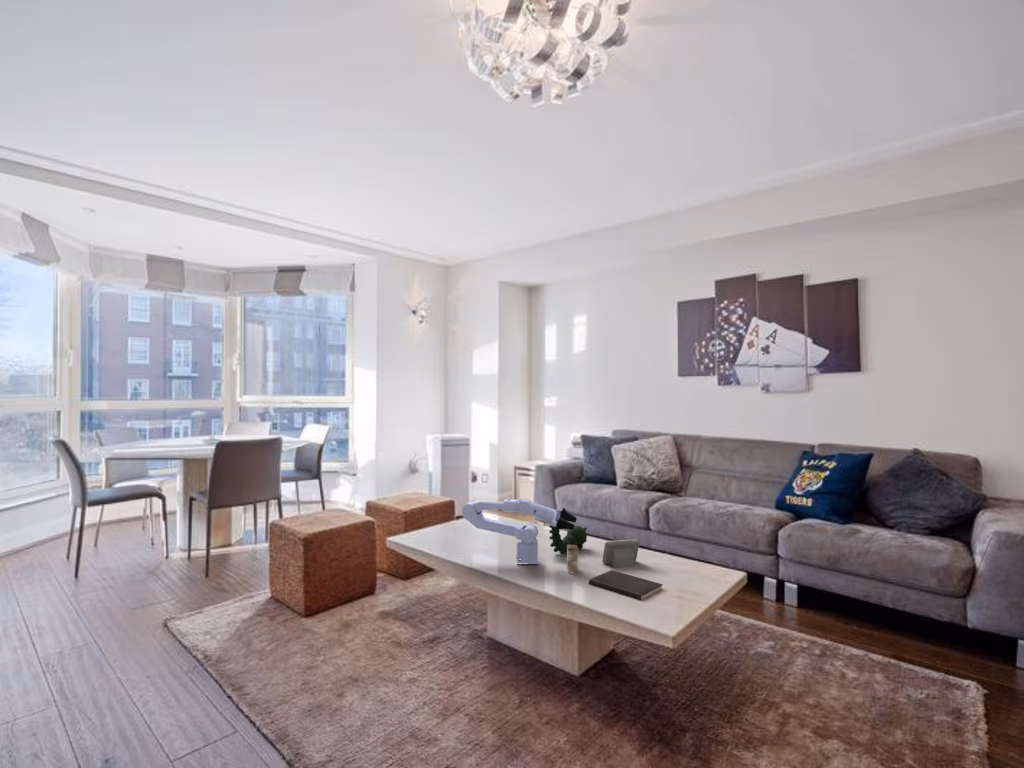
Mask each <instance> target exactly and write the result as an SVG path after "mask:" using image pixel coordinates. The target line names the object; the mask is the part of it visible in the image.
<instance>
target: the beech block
mask: <svg viewBox="0 0 1024 768" xmlns="http://www.w3.org/2000/svg"><path fill="white" fill-rule="evenodd" d="M578 557H579V549H578V548H577V545H567V553H566V569H568V571H567V573H568V572H573V573H572V574H579V572H578V571H579V570H578V569H579V564H578V563H579V561H578Z"/></svg>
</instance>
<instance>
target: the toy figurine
mask: <svg viewBox="0 0 1024 768" xmlns="http://www.w3.org/2000/svg"><path fill="white" fill-rule="evenodd" d="M559 518H560V517H559ZM557 519H558V518H557ZM551 525H552V523H551V524H550V525H549V528H550V530H549V532H548V533H549V534H551V536H549V540H551V541H552V542H551V543H550V544H549V546H550V547H551V548H553V547H554V548H553V552H554V553H558V552H559V553H560V554H561V555H563V554H567V545H577V548H579V549H578V550H580V549H583V548H584V545H585V543H587V541H588V540H587V538H588V536H587V529H588V528H587V527H586V526H585V527H582V526H580V525H574V529H573V530H570V529H567V532H566V535H565V536H564V537H563V538H562V536H561V534H560V533H561V531H560V530H561V529H559V530H556V527H554V526H551Z"/></svg>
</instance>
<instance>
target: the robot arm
mask: <svg viewBox="0 0 1024 768" xmlns="http://www.w3.org/2000/svg"><path fill="white" fill-rule="evenodd" d="M483 510H502V511H503V512H504V513H512V514H519V513H520V514H522V515H523V516H527V515H529V516H532V517H534V518H537V519H539V520H542V521H545V522H548V523H551V524H552V525H551V524H550V525H551V526H554V527H556V530H569V529H570V530H573V529H574V526H575V524H574V523H576V522H577V519H578V518H577V517H576V516H575V515H573V514H571V513H570V512H569V511H568V510H567V509H566V508H564V507H563V508H562V509H561V508H558V507H557V508H556V509H554V508H551V507H548V506H545V505H542V504H539V503H536V502H532V500H531V499H528V498H523V499H522V498H518V499H512V498H511V497H507V499H506V498H505V499H503V501H495V500H483V499H477V500H475V499H472V500H470V501H468V503H465V504H464V505H463V506H462V508H461V514H462V517H463V518H464V520H466V521H468V522H469V523H470V524H471V525H472V526H474V528H476V529H478V530H479V529H480V530H483V531H488V532H493V533H497V534H501V535H505V536H512V537H514V538H516V539H517V540H519V541H517V542H516V556H515V558H516V564H517V563H528V564H540V563H539V558H538V557H539V556H538V555H539V554H538V553H539V552H538V550H539V549H538V546H539V545H538V544H539V543H538V542H539V540H538V538H537V536H538V534H539V529H538V527H537V526H536V524H532V523H531V524H515V523H510V522H505V521H500V520H496V519H491V518H486V517H485V516H484V514H483V512H482V511H483ZM559 517H560V518H559ZM557 518H558V519H557ZM519 559H521V560H519Z"/></svg>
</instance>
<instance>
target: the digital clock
mask: <svg viewBox="0 0 1024 768" xmlns="http://www.w3.org/2000/svg"><path fill="white" fill-rule="evenodd" d="M639 546H640V540H639V539H634V538H633V539H621V540H619V539H618V540H606V542H605V543H604V548H603V554H602V559H601V561H602V564H605V565H611V566H613V565H614V566H615V567H614V566H613V567H614V568H624V567H623V566H627V567H634V566H635V562H636V561H637V557H638V552H639ZM634 561H635V562H634ZM633 565H634V566H633Z"/></svg>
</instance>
